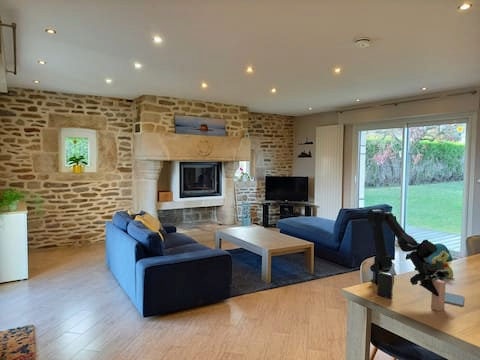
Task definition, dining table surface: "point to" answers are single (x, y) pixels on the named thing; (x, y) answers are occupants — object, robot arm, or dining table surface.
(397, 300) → the dining table surface
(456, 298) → the mat
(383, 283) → the battery charger
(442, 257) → the chocolate bunny
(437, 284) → the block
